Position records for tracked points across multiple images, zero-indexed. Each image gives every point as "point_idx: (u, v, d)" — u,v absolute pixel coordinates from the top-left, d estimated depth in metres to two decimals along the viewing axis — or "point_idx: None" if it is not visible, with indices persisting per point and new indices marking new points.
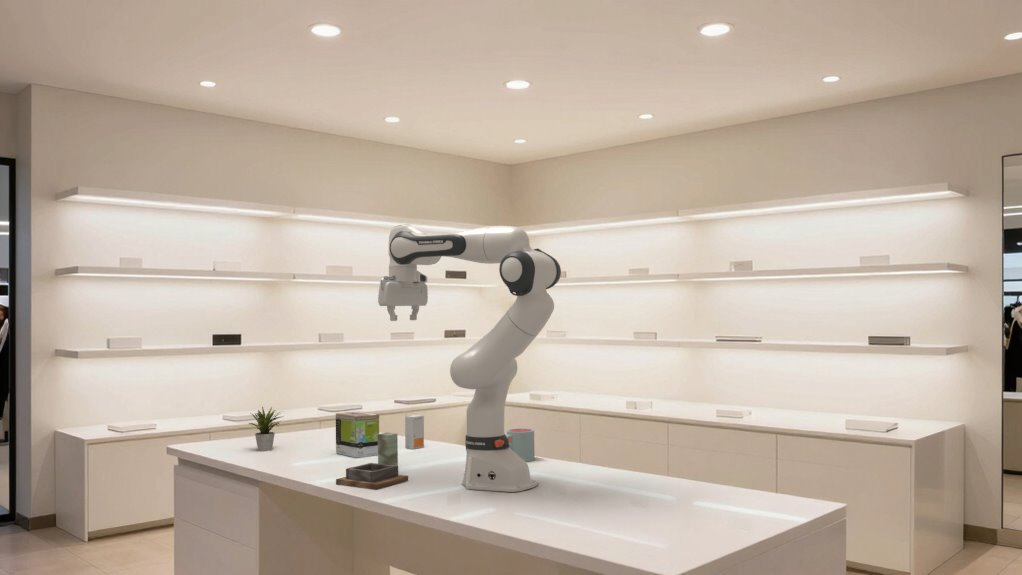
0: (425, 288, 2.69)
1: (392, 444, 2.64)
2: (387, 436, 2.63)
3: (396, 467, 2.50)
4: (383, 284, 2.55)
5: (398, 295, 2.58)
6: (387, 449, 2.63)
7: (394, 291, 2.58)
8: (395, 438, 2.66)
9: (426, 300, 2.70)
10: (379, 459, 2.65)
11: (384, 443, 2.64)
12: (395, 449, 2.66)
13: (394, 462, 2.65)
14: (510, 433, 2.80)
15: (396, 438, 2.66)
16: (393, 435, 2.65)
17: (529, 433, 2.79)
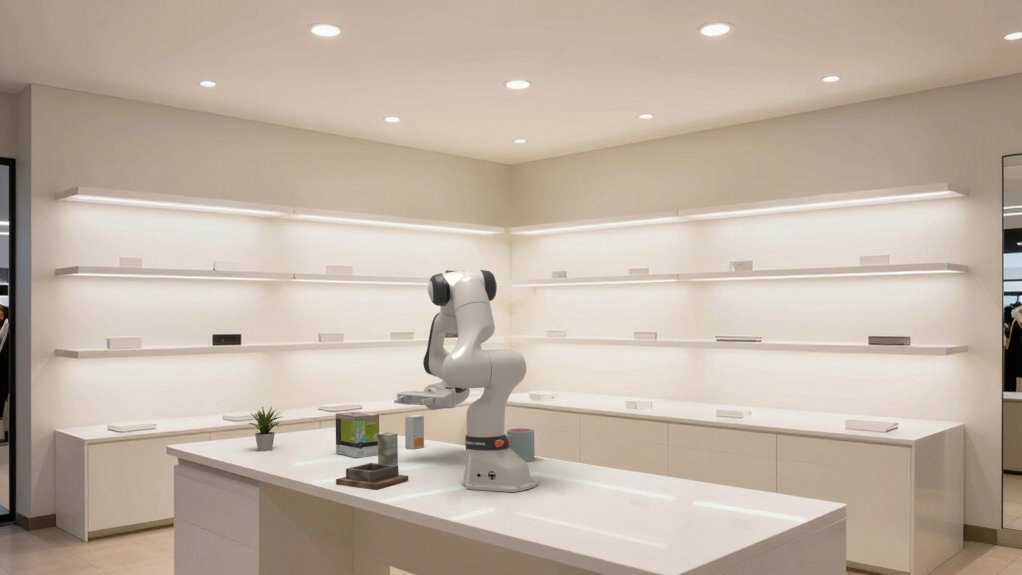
0: (448, 392, 2.81)
1: (392, 444, 2.64)
2: (387, 436, 2.63)
3: (396, 467, 2.50)
4: None
5: (414, 392, 2.85)
6: (387, 449, 2.63)
7: (413, 392, 2.87)
8: (395, 438, 2.66)
9: (443, 395, 2.77)
10: (379, 459, 2.65)
11: (384, 444, 2.64)
12: (395, 449, 2.66)
13: (394, 462, 2.65)
14: (510, 433, 2.80)
15: (396, 438, 2.66)
16: (393, 435, 2.65)
17: (529, 433, 2.79)
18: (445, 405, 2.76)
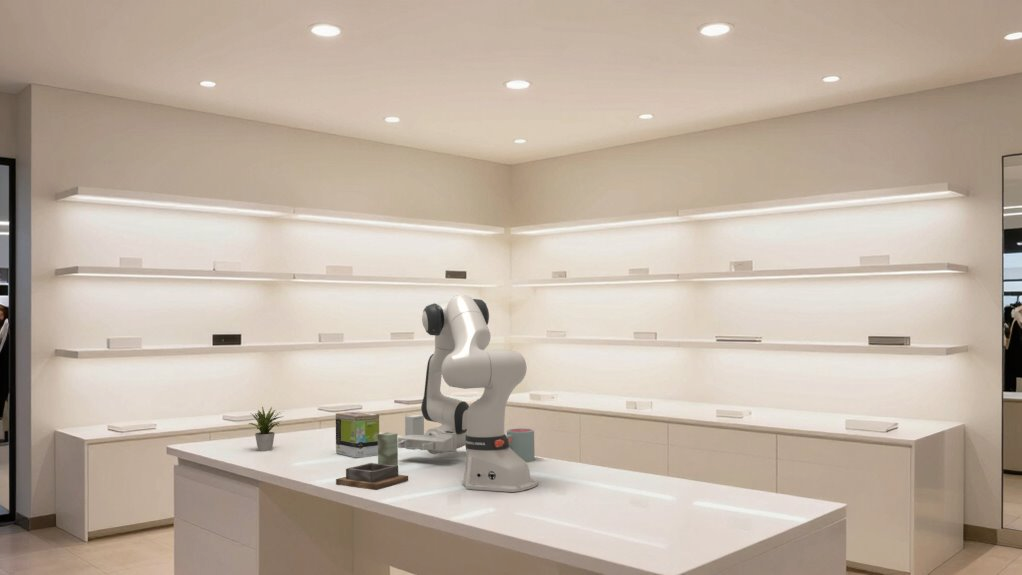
0: (449, 436, 2.79)
1: (392, 444, 2.64)
2: (387, 436, 2.63)
3: (396, 467, 2.50)
4: None
5: (414, 436, 2.84)
6: (387, 449, 2.63)
7: (414, 436, 2.86)
8: (395, 438, 2.66)
9: (444, 439, 2.75)
10: (379, 459, 2.65)
11: (384, 443, 2.64)
12: (395, 449, 2.66)
13: (394, 462, 2.65)
14: (510, 433, 2.80)
15: (396, 438, 2.66)
16: (393, 435, 2.65)
17: (529, 433, 2.79)
18: (445, 449, 2.75)
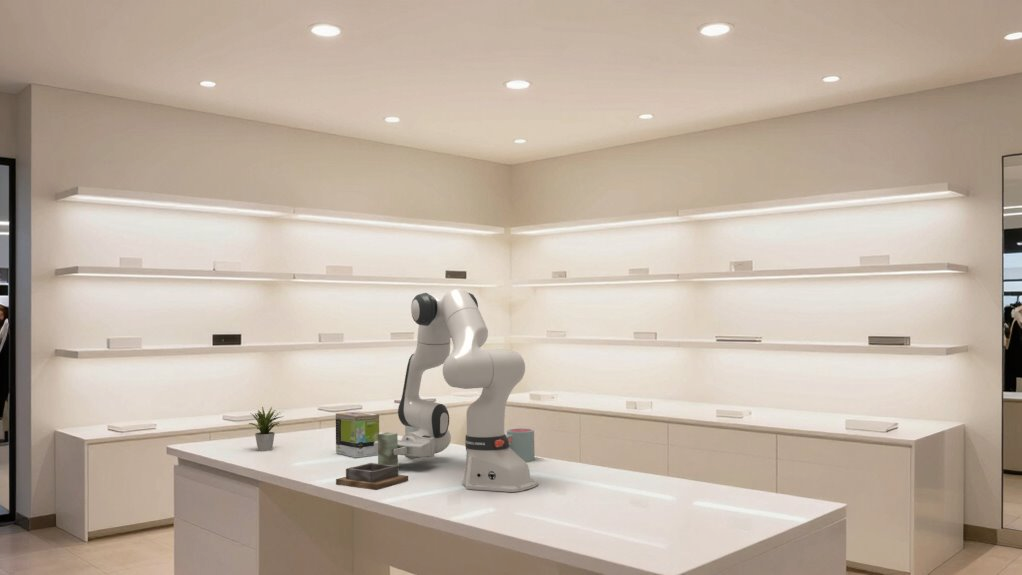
0: (426, 441, 2.69)
1: (392, 444, 2.64)
2: (387, 436, 2.63)
3: (396, 467, 2.50)
4: None
5: None
6: (387, 449, 2.63)
7: None
8: (395, 438, 2.66)
9: (421, 444, 2.66)
10: (379, 459, 2.65)
11: (384, 443, 2.64)
12: None
13: (394, 462, 2.65)
14: (510, 433, 2.80)
15: (396, 438, 2.66)
16: (393, 435, 2.65)
17: (529, 433, 2.79)
18: (422, 455, 2.65)
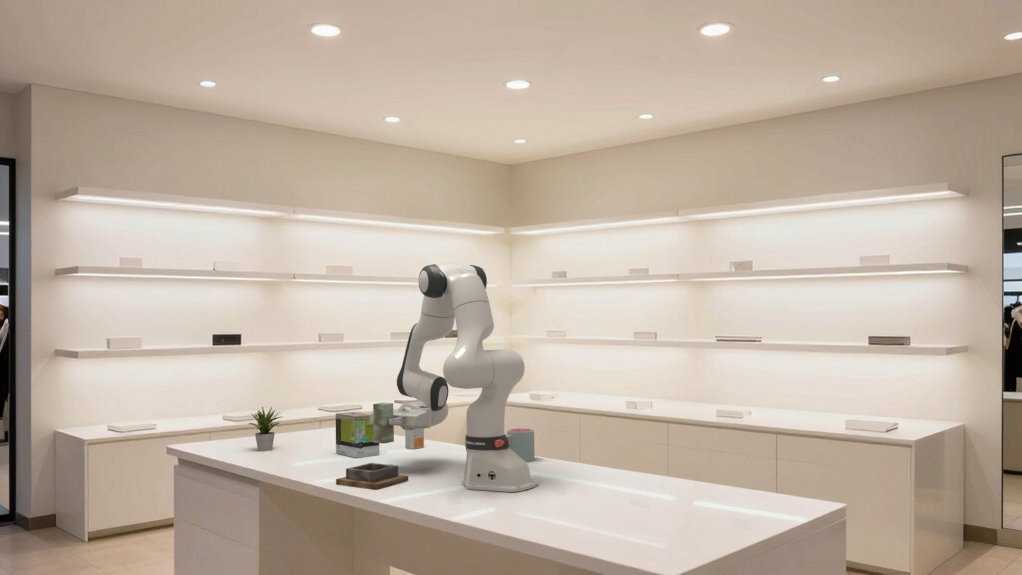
0: (422, 411, 2.65)
1: (387, 414, 2.60)
2: (383, 405, 2.59)
3: (396, 467, 2.50)
4: None
5: None
6: (383, 419, 2.58)
7: None
8: (391, 408, 2.61)
9: (417, 414, 2.61)
10: (375, 429, 2.60)
11: (379, 413, 2.59)
12: None
13: (390, 432, 2.60)
14: (510, 433, 2.80)
15: (392, 408, 2.62)
16: (389, 405, 2.60)
17: (529, 433, 2.79)
18: (418, 425, 2.60)
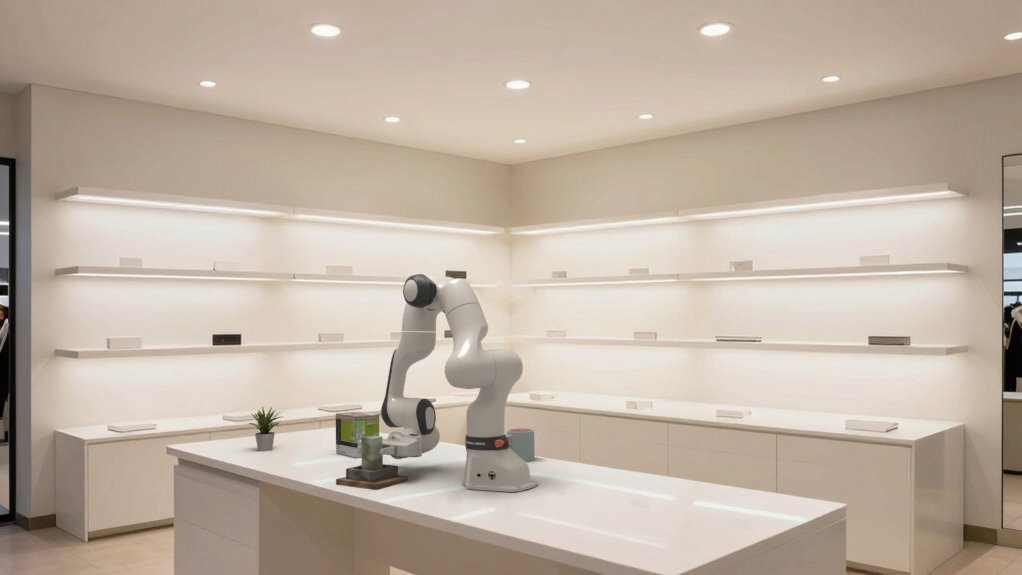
0: (413, 440, 2.53)
1: (376, 448, 2.48)
2: (371, 439, 2.47)
3: (396, 467, 2.50)
4: None
5: None
6: (371, 453, 2.47)
7: None
8: (380, 441, 2.50)
9: (407, 443, 2.49)
10: (363, 464, 2.48)
11: (368, 447, 2.47)
12: None
13: (379, 467, 2.49)
14: (510, 433, 2.80)
15: (381, 441, 2.50)
16: (378, 438, 2.49)
17: (529, 433, 2.79)
18: (408, 455, 2.48)
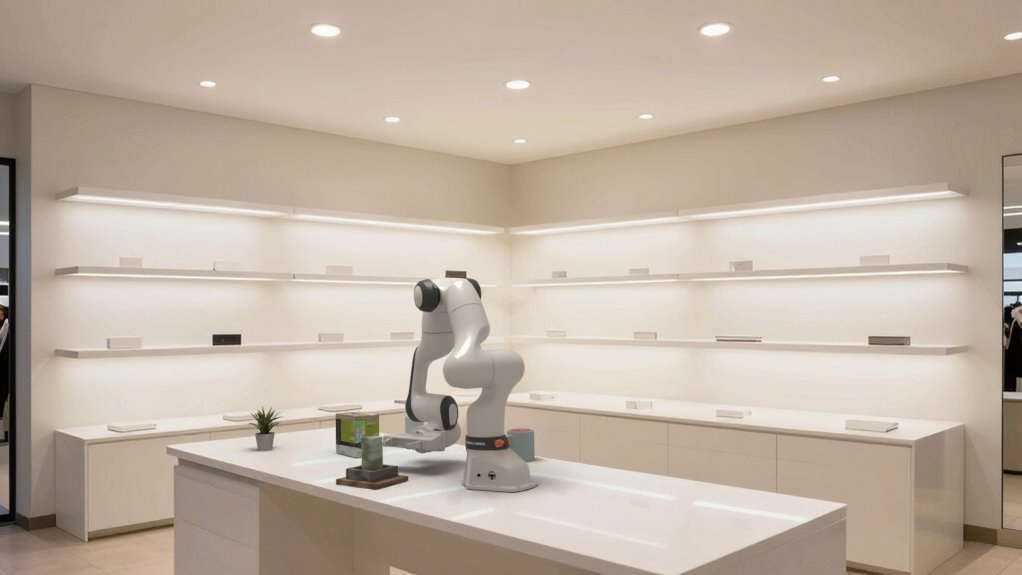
0: (437, 435, 2.63)
1: (376, 448, 2.48)
2: (371, 439, 2.47)
3: (396, 467, 2.50)
4: None
5: None
6: (371, 453, 2.47)
7: (400, 434, 2.70)
8: (380, 441, 2.50)
9: (431, 438, 2.59)
10: (363, 464, 2.48)
11: (368, 447, 2.47)
12: (380, 453, 2.49)
13: (379, 467, 2.49)
14: (510, 433, 2.80)
15: (381, 441, 2.50)
16: (378, 438, 2.49)
17: (529, 433, 2.79)
18: (433, 449, 2.58)
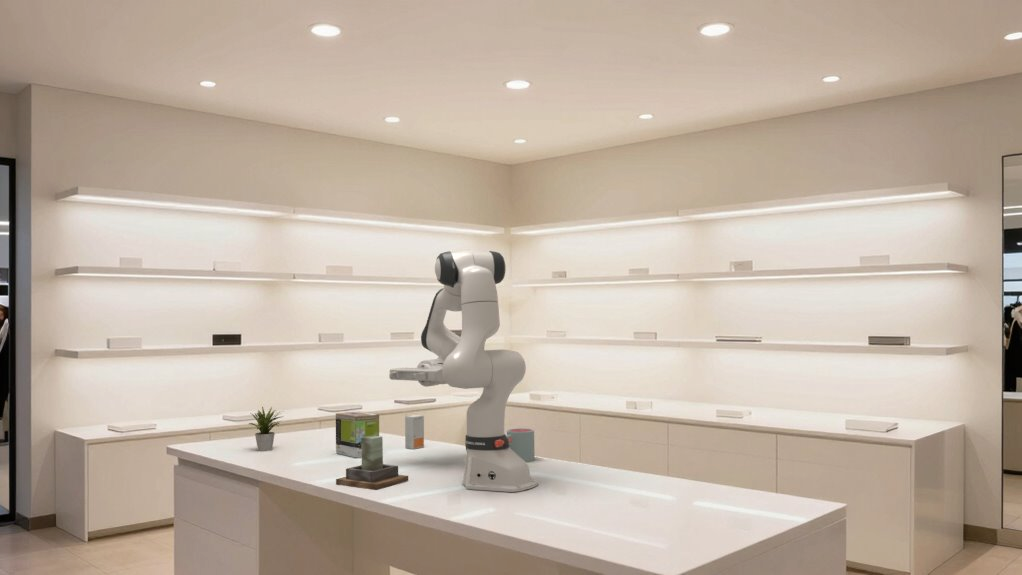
0: (441, 367, 2.74)
1: (376, 448, 2.48)
2: (371, 439, 2.47)
3: (396, 467, 2.50)
4: None
5: (406, 368, 2.79)
6: (371, 453, 2.47)
7: (406, 369, 2.81)
8: (380, 441, 2.50)
9: (436, 369, 2.70)
10: (363, 464, 2.48)
11: (368, 447, 2.47)
12: (380, 453, 2.49)
13: (379, 467, 2.49)
14: (510, 433, 2.80)
15: (381, 441, 2.50)
16: (378, 438, 2.49)
17: (529, 433, 2.79)
18: (438, 379, 2.69)
